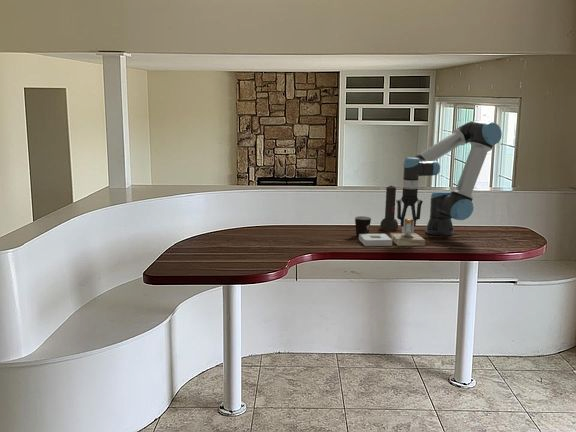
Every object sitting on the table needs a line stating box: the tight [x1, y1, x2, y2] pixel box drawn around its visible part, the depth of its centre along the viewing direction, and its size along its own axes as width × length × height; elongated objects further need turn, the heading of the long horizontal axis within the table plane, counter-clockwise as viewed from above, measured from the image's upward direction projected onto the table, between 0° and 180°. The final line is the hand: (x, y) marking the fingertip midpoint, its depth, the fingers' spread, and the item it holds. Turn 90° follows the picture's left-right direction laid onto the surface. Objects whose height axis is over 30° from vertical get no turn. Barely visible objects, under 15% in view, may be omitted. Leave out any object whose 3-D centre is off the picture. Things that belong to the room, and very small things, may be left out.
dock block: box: [389, 232, 426, 247], centre depth 330 cm, size 14×14×3 cm
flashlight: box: [379, 185, 399, 232], centre depth 358 cm, size 10×25×10 cm
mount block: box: [358, 233, 393, 247], centre depth 328 cm, size 14×14×3 cm
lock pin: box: [403, 218, 413, 238], centre depth 329 cm, size 4×4×12 cm
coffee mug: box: [354, 215, 372, 238], centre depth 341 cm, size 12×9×10 cm
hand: (407, 232), depth 329 cm, fingers closed on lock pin, 4 cm apart
